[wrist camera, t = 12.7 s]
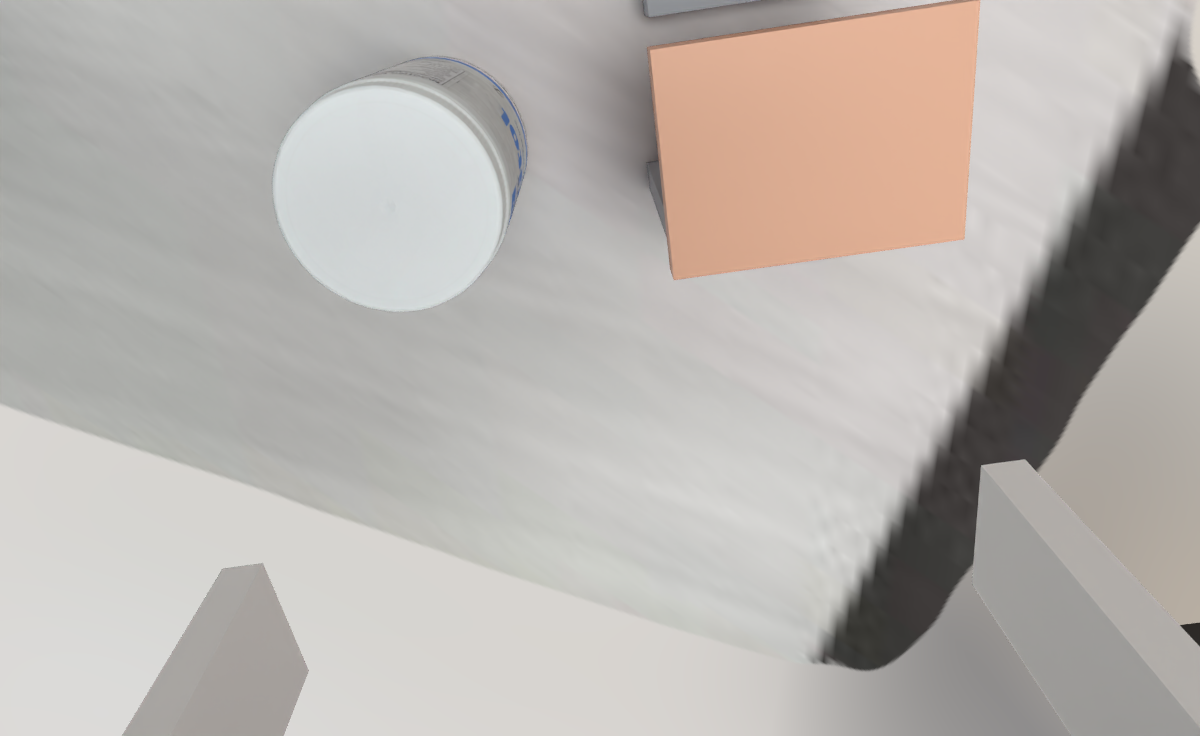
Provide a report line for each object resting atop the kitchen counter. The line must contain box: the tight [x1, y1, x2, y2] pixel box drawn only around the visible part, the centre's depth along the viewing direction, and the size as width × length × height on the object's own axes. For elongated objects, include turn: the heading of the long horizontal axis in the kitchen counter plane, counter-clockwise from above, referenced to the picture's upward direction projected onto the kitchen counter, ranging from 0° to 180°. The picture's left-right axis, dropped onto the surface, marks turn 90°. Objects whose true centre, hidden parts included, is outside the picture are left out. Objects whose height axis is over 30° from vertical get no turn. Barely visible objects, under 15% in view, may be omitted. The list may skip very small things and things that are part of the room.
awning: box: [647, 0, 980, 280], centre depth 37 cm, size 12×9×15 cm
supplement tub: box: [272, 56, 528, 312], centre depth 38 cm, size 10×10×15 cm
